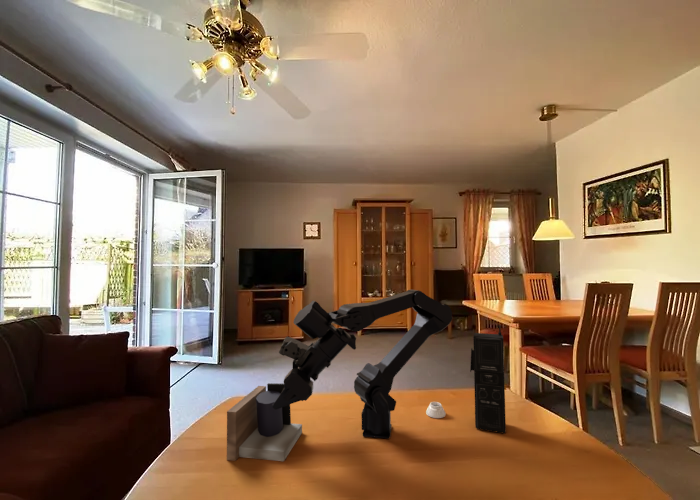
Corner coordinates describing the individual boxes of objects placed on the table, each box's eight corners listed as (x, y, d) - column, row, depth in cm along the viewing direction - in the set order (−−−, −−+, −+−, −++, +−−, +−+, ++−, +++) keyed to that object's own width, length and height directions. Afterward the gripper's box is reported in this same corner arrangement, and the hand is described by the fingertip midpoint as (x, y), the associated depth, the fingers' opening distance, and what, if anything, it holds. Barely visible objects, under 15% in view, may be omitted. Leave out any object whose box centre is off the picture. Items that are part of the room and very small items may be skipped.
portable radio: (470, 429, 83) (468, 326, 84) (471, 418, 88) (469, 322, 89) (506, 435, 80) (503, 328, 81) (504, 423, 86) (502, 324, 86)
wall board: (303, 429, 83) (303, 388, 84) (280, 465, 69) (280, 415, 69) (258, 425, 85) (258, 385, 86) (226, 459, 71) (226, 411, 71)
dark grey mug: (271, 418, 84) (271, 378, 84) (291, 424, 82) (290, 382, 81) (251, 436, 77) (250, 392, 77) (272, 442, 75) (271, 397, 74)
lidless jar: (433, 421, 88) (449, 417, 90) (433, 409, 88) (449, 406, 90) (422, 413, 92) (437, 410, 94) (422, 402, 93) (437, 399, 94)
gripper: (304, 318, 88) (262, 362, 87) (294, 334, 69) (240, 390, 68) (335, 348, 87) (293, 392, 87) (333, 372, 69) (279, 428, 68)
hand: (277, 399), depth 78 cm, fingers open, 9 cm apart
